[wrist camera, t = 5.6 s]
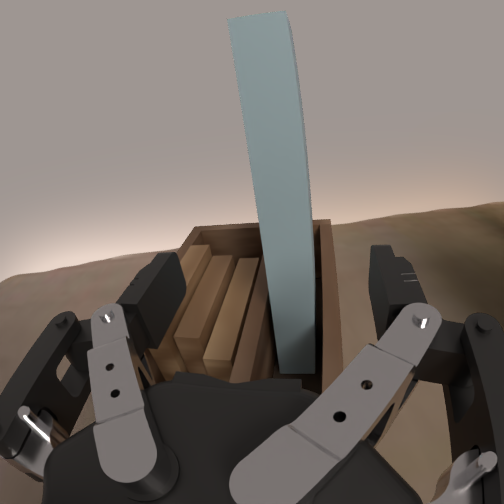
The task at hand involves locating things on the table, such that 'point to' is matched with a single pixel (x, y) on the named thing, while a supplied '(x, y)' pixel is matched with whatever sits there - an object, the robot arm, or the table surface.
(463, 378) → the robot arm
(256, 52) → the panel
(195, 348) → the offcuts
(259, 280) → the rack
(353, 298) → the table surface
